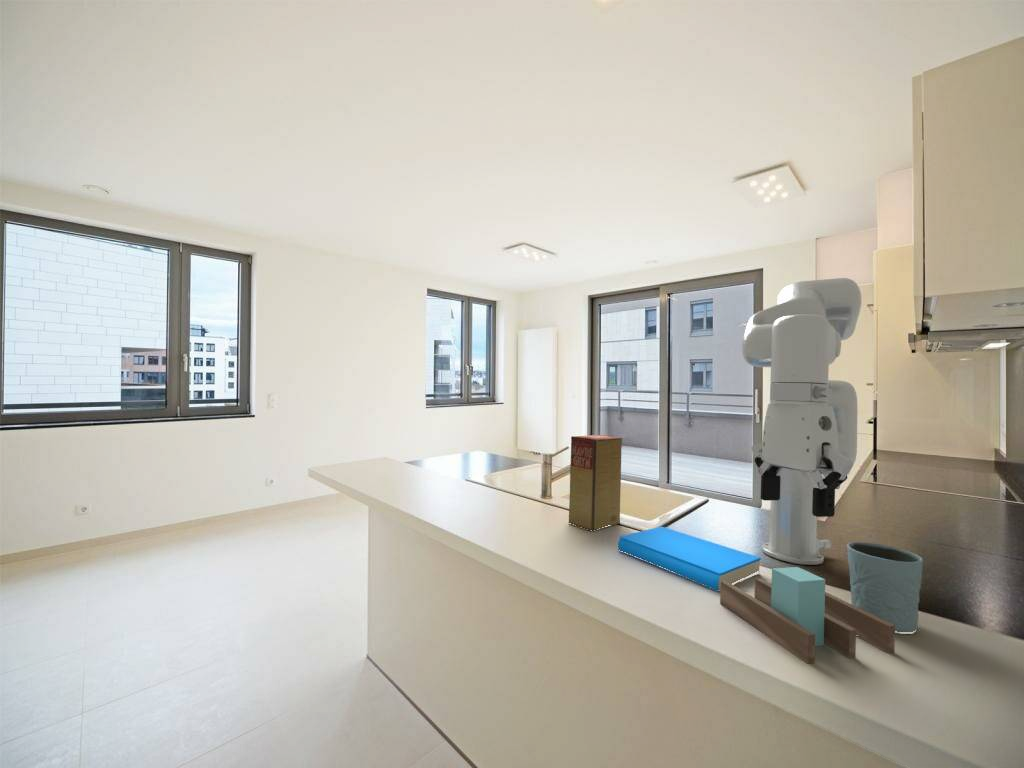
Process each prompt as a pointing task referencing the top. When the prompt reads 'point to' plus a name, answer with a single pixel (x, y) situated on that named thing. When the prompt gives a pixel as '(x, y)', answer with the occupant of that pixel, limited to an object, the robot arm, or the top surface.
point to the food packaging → (595, 481)
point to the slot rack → (838, 629)
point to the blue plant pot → (886, 583)
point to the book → (690, 556)
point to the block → (800, 598)
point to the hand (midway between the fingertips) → (794, 507)
